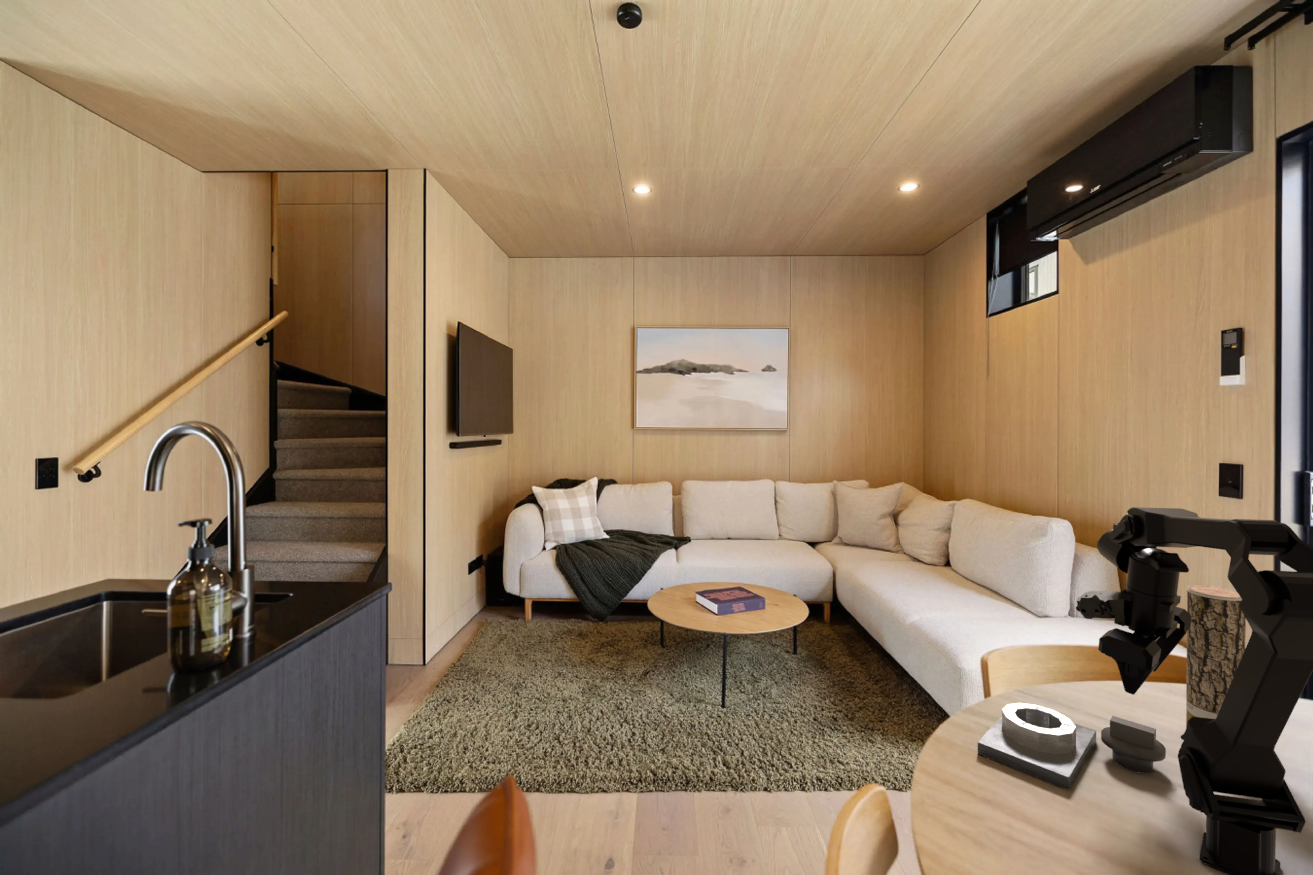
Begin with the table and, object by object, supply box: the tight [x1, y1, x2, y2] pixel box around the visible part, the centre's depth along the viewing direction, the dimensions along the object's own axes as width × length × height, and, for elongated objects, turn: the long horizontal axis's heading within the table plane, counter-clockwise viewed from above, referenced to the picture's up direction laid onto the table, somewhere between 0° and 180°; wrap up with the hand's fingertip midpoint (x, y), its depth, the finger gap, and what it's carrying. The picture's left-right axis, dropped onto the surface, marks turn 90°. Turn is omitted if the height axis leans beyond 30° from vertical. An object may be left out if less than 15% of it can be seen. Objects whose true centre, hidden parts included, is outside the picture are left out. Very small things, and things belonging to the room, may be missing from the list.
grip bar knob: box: [1100, 715, 1167, 774], centre depth 86 cm, size 8×8×6 cm
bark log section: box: [1185, 584, 1247, 727], centre depth 91 cm, size 7×7×25 cm
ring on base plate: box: [977, 702, 1097, 791], centre depth 90 cm, size 18×12×5 cm, turn 131°
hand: (1140, 681), depth 86 cm, fingers open, 9 cm apart
